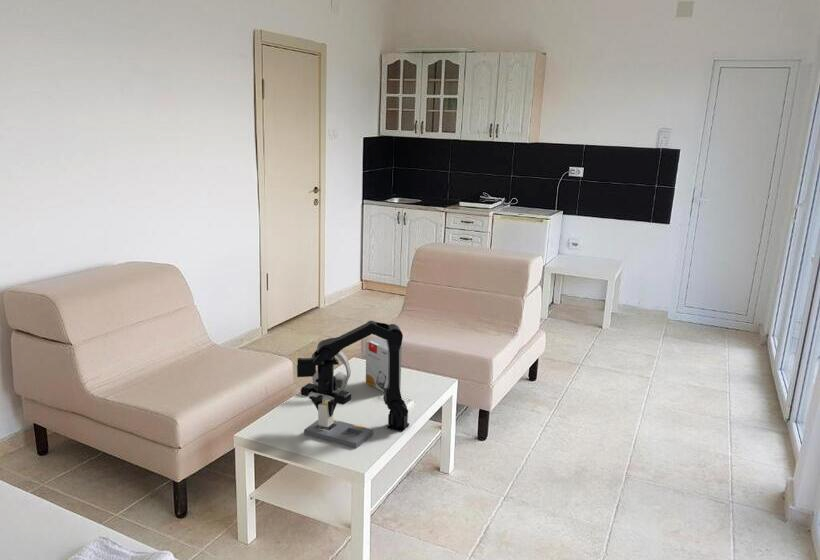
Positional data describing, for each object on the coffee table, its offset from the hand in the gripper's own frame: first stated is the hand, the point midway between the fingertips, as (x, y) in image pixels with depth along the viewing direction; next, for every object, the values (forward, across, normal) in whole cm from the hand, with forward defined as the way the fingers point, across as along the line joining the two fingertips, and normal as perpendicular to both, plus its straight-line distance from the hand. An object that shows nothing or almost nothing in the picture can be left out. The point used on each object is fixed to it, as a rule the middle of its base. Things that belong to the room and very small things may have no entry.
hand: (326, 415), depth 236 cm
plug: (+4, 0, 0) cm, 4 cm away
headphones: (+7, +18, -31) cm, 36 cm away
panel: (+6, -5, 0) cm, 8 cm away
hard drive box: (+7, +1, -47) cm, 47 cm away
